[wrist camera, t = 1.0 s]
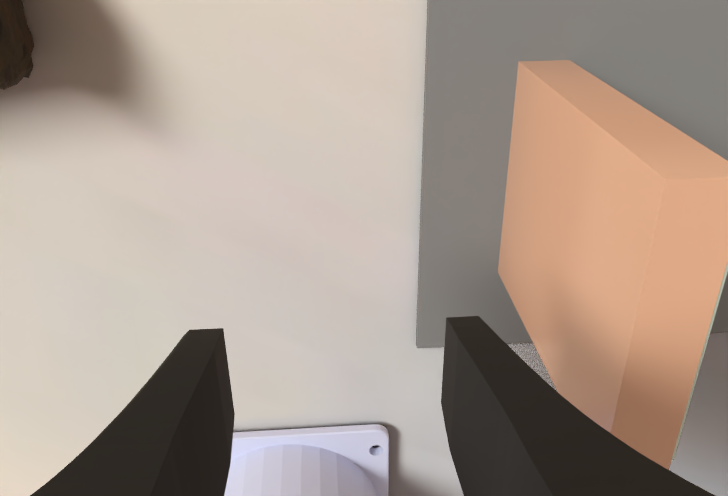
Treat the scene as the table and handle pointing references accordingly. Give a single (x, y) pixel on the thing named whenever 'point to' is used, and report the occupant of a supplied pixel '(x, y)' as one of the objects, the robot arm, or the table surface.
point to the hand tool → (14, 44)
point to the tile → (613, 251)
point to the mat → (495, 116)
